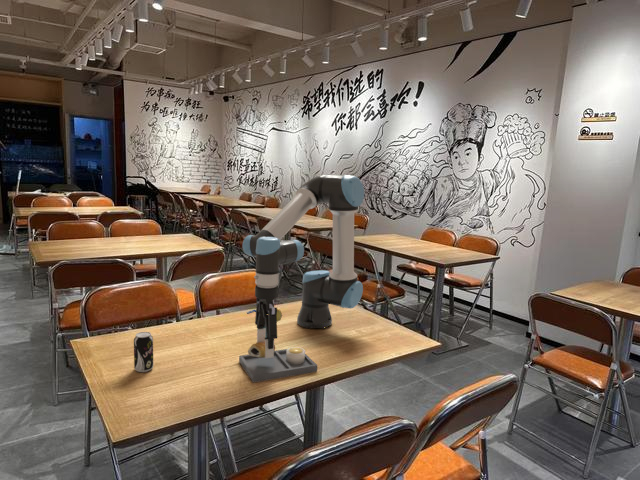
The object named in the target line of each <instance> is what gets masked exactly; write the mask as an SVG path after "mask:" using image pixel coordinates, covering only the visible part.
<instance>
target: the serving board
mask: <svg viewBox="0 0 640 480" xmlns="http://www.w3.org/2000/svg"><path fill="white" fill-rule="evenodd" d="M238 359H239V360H238V363H239V364H240V365H241V367H242V368H243V370H244V371H245V374H247V376H248V378H249V379H250V380H251V382H252V383H259V382H265V381H272V380H276V379H283V378H286V377H287V378H288V377H293V376H299V375H304V374H311V373H315V372H316V373H317V372H318V364H317V363H316V362H315V361H314V360H313V359H311V358H310V356H308V355H307V354H306V350H305V349H304V348H303V347H299V346H292V347H288V348H284V349H283V348H282V349H277V350H276V349H275V351H274V357H271V358H265V357H264V358H258V357H254V356H250V355H249V354H244V355H239V358H238Z"/></svg>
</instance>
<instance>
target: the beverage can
mask: <svg viewBox="0 0 640 480" xmlns="http://www.w3.org/2000/svg"><path fill="white" fill-rule="evenodd" d="M133 365H134V367H133V368H134V370H135V371H136V372H137V373H146V372H149V371H150V370H152V369H153V368H154V338H153V336H152V333H151V332H150V331H140V332H137V333H136V334H135V337H134V338H133Z"/></svg>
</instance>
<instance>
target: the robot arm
mask: <svg viewBox="0 0 640 480" xmlns="http://www.w3.org/2000/svg"><path fill="white" fill-rule="evenodd" d="M364 199H365V188H364V184H363V182H362V181H361V179H360V178H359V177H358V176H355V175H349V174H329V173H328V174H327V173H324V174H319V175H317V176H315V177H312V178H311V179H309V180H308V181H307V182H305V183H303V184H302V185H301V186H300V187H299V188H298V189H297V190H296V191H295V196H293V198H292V199H291V200H290V201H289V202H288V203H287V204H285V206H284V207H283V208H282V209H281V210H280V211H278V213H277V214H276V215H274V217H272V218H271V220H269V222H268V223H267V224H266V225H264V227H263V228H261V230H260V231H258V233H257V234H256V235H255V234H248V235H247V236H245V237H244V238H243V241H242V247H241V248H242V251H243V254H245V255H247V256H250V257H253V258H255V275H254V276H253V278H254V279H255V282H254V283H255V286H254V297H255V298H256V307H255V310H256V312H255V317H254V318H255V320H254V324H255V326H256V330H257V331H256V343H257V342H265V358H271V357H274V345H275V339H278V322H277V309H278V307H275V303H274V300H275V299H277V298H278V297H279V284H280V266H281V265H287V264H290V263H292V264H293V263H295V262H298V261H300V260H301V259H302V258H303V257H304V255H305V247H304V245H303V243H302V242H301V241H300V240H298V239H289V240H287V239H286V240H285V239H283V237H284V238H285V236H286V234H288V232H289V231H290V230H291V229H292V228H293V227H294V226H295V225H296V224H297V223H298V222H299V221H300V220H301V219H302V217H304V216H305V215H306V214H307V212H308V211H309V210H312V209H314V208H316V207H317V205H320V204H327V205H328V211H330V213H331V214H332V271H331V272H330V271H329V270H322V269H321V270H320V269H319V270H311V271H306V272H305V273H303V276H302V282H301V284H302V287H301V288H302V290H301V307H300V310H299V313H298V315H297V318H296V319H297V321H296V323H298V324H299V325H298V324H297V325H298V326H300V327H302V326H303V327H302V328H305V327H306V328H305V329H310V328H323V329H325V328H324V327H327V326H329V325H331V324H332V323H333V318H332V315H331V311H330V307H329V305H331V306H336V307H339V308H342V309H344V308H345V309H350V310H351V309H353V308H356V306H357V305H359V303H360V300H361V299H362V296H363V291H364V287H363V286H364V285H363V283H362V282H361V281H360V280H358V274H357V273H356V272H355V270H354V269H355V268H354V267H355V258H354V257H355V214H356V212H357V211H359V207H360V206H361V205H362V204H363V203H364ZM331 326H332V325H331ZM329 327H330V326H329ZM265 328H266V329H265ZM327 328H328V327H327ZM265 335H267V338H265Z"/></svg>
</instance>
